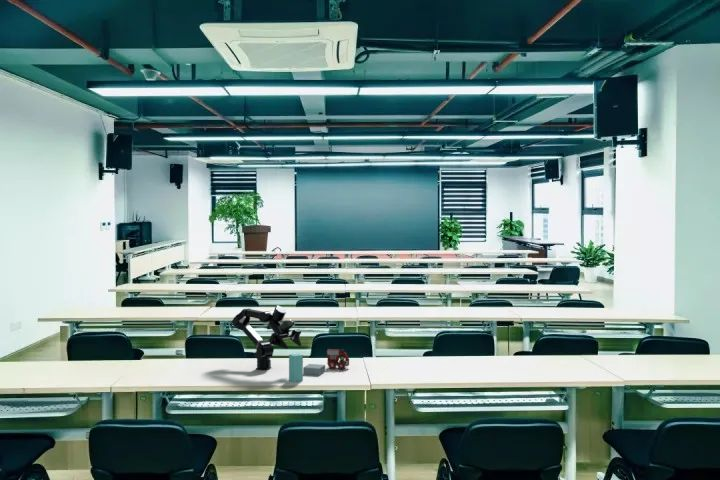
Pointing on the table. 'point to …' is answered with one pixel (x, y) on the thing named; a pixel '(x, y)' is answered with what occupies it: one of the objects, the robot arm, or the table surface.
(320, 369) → the base brick
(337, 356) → the toy fire truck
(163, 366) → the table surface
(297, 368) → the teal block
